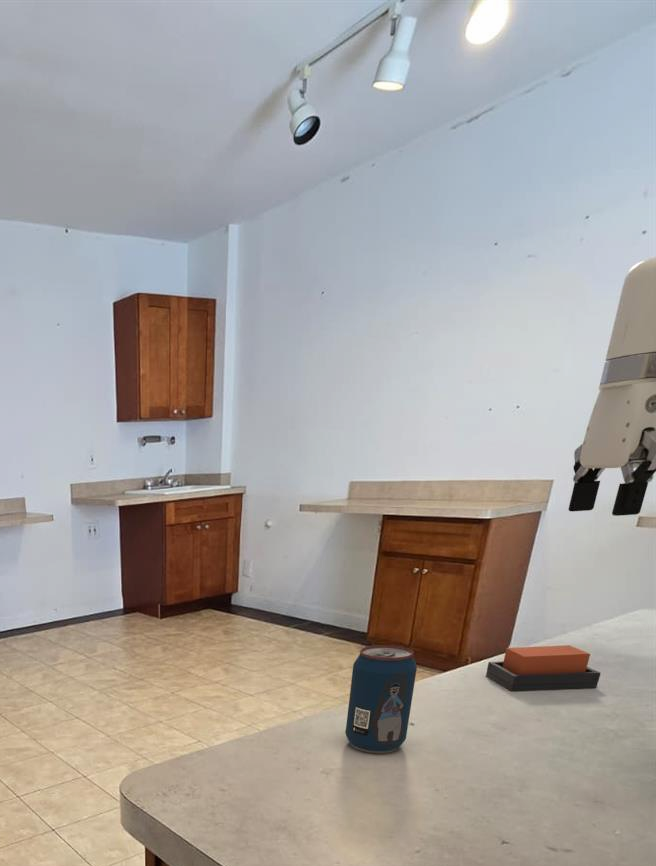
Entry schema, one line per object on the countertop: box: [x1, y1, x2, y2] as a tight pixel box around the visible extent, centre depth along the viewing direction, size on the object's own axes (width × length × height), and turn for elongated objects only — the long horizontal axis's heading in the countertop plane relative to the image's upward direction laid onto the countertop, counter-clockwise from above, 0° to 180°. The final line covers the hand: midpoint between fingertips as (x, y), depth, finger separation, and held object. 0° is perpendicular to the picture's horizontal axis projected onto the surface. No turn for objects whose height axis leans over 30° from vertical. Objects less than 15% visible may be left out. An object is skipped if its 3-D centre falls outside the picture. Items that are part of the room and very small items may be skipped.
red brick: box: [503, 644, 591, 675], centre depth 95 cm, size 9×5×4 cm, turn 85°
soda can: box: [345, 644, 418, 754], centre depth 78 cm, size 7×7×12 cm
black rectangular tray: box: [485, 660, 602, 692], centre depth 96 cm, size 12×8×2 cm, turn 85°
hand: (601, 512), depth 91 cm, fingers open, 9 cm apart
